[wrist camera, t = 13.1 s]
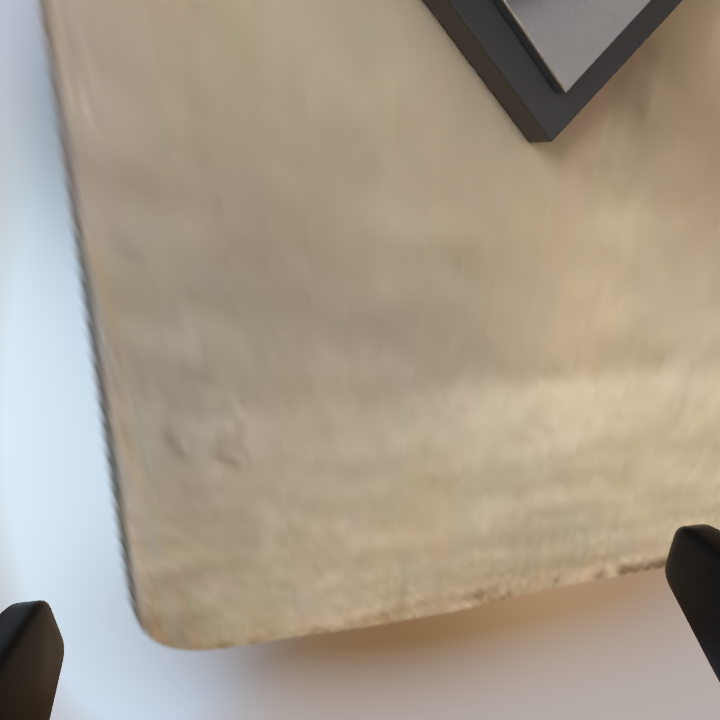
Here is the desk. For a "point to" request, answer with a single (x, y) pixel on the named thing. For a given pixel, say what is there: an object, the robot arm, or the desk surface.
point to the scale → (548, 51)
